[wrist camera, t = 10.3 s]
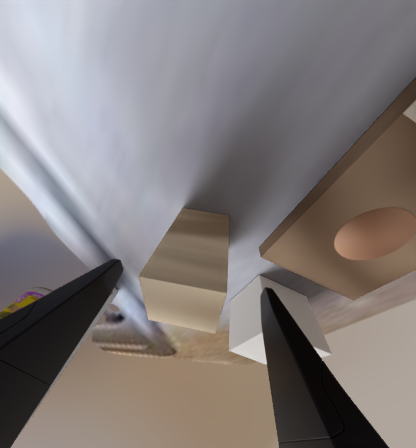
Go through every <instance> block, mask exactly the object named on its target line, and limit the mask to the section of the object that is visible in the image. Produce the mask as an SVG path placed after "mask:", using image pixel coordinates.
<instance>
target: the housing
mask: <svg viewBox="0 0 416 448" xmlns="http://www.w3.org/2000/svg"><path fill="white" fill-rule="evenodd" d="M265 287H268V288H272V289H273V290H274V291H275V293H276V294H277V296H278V297H279V299H280V300H281V301H282V303H283V304H284V306H285V307H286V309H287V310H288V311H289V313H290V314H291V316H292V317H293V319H294V320H295V321H296V323H297V324H298V326H299V327H300V329H301V330H302V331H303V333H304V334H305V336H306V337H307V339H308V340H309V341H310V343H311V344H312V346H313V347H314V349H315V350H316V351H317V353H318V354H319V356H320V357H321V358H322V357H325V356H329V355H332V353H331V351H330V348H329V346H328V344H327V342H326V339H325V337H324V335H323V333H322V330H321V328H320V326H319V324H318V321H317V319H316V317H315V315H314V312H313V310H312V308H311V306H310V303H309V301H308V299H307V297H306V296H305V295H302V294H300V293H298V292H296V291H294V290H292V289H289V288H287V287H285V286H283V285H281V284H278V283H276V282H274V281H272V280H270V279H268V278H265V277H263V276H261V275H258V276H257V277H256V278H255V279H254V280H253V281H252V282H251V283H249V284H248V285H247V286H246V287H245V288H244V289H243V290H242V291H241V292H240V293H238V294H237V295H236V296H235V297H234V298H233V299H232V300H231V301H230V334H229V351H231V352H234V353H237V354H239V355H242V356H245V357H247V358H250V359H253V360H255V361H258V362H261V363H264V364H266V365H267V361H266V354H265V347H264V340H263V334H262V326H261V305H260V296H261V293H262V291H263V289H264V288H265Z"/></svg>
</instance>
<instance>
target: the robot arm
mask: <svg viewBox="0 0 416 448" xmlns="http://www.w3.org/2000/svg"><path fill="white" fill-rule="evenodd" d="M122 272H123V266H122V263H121V260H119V259H112V260H110V261H108V262H106V263H104V264H102V265H100V266H99V267H97V268H95V269H93V270H91V271H89V272H88V273H86V274H84V275H82V276H80V277H78V278H77V279H75V280H73V281H71V282H69V283H67V284H65V285H64V286H62V287H60V288H58V289H56V290H54V291H52V292H51V293H49V294H47V295H45V296H43V297H41V298H39V299H38V300H36V301H34V302H32V303H30V304H28V305H26V306H25V307H23V308H21V309H19V310H17V311H15V312H13V313H11V314H9V315H7V316H5V317H3V318H1V319H0V448H10V447H11V446H12V444H13V443H14V441H15V440H16V438H17V437H18V435H19V434H20V432H21V431H22V429H23V428H24V426H25V425H26V423H27V421H28V420H29V418H30V417H31V415H32V414H33V412H34V411H35V409H36V408H37V406H38V405H39V403H40V402H41V400H42V399H43V397H44V396H45V394H46V393H47V391H48V389H49V388H50V386H51V385H52V383H53V382H54V380H55V379H56V377H57V376H58V374H59V372H60V371H61V369H62V368H63V366H64V365H65V363H66V362H67V360H68V359H69V357H70V356H71V354H72V353H73V351H74V350H75V348H76V347H77V345H78V343H79V342H80V340H81V339H82V337H83V336H84V334H85V333H86V331H87V330H88V328H89V327H90V325H91V324H92V322H93V321H94V319H95V318H96V316H97V314H98V313H99V311H100V310H101V308H102V307H103V305H104V304H105V302H106V301H107V299H108V298H109V296H110V294H111V293H112V291H113V289H114V287H115V285H116V283H117V281H118V279H119V278H120V276H121V274H122ZM260 305H261V326H262V334H263V340H264V347H265V354H266V361H267V367H268V374H269V381H270V388H271V395H272V402H273V408H274V415H275V422H276V429H277V436H278V442H279V448H389V447H388V446H387V444H386V443H385V442H384V440H383V439H382V438H381V437H380V435H379V434H378V433H377V432H376V430H375V429H374V428H373V427H372V425H371V424H370V423H369V421H368V420H367V419H366V418H365V417H364V415H363V414H362V413H361V411H360V410H359V409H358V407H357V406H356V405H355V404H354V402H353V401H352V400H351V398H350V397H349V396H348V394H347V393H346V392H345V391H344V389H343V388H342V387H341V385H340V384H339V382H338V381H337V380H336V378H335V377H334V375H333V374H332V373H331V371H330V370H329V369H328V367H327V366H326V364H325V363H324V361H322V359H321V357H320V356H319V354H318V353H317V351H316V350H315V349H314V347H313V346H312V344H311V343H310V341H309V340H308V339H307V337H306V336H305V334H304V333H303V331H302V330H301V329H300V327H299V326H298V324H297V323H296V321H295V320H294V319H293V317H292V316H291V314H290V313H289V311H288V310H287V309H286V307H285V306H284V304H283V303H282V301H281V300H280V299H279V297H278V296H277V294H276V293H275V291H274V290H273V289H272V288H268V287H265V288H264V289H263V291H262V293H261V296H260Z"/></svg>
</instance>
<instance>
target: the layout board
mask: <svg viewBox="0 0 416 448" xmlns="http://www.w3.org/2000/svg"><path fill="white" fill-rule="evenodd" d="M259 251H260V255H261V257H262V258H264V259H266V260H268V261H270V262H273V263H275V264H277V265H279V266H281V267H283V268H285V269H288V270H290V271H292V272H294V273H296V274H298V275H301V276H303V277H305V278H307V279H309V280H311V281H313V282H316V283H318V284H320V285H322V286H324V287H326V288H328V289H331V290H333V291H335V292H337V293H339V294H341V295H343V296H346V297H348V298H350V299H352V300H355V299H357V298H359V297H361V296H363V295H365V294H367V293H369V292H371V291H373V290H375V289H377V288H379V287H382V286H384V285H386V284H388V283H390V282H392V281H394V280H396V279H398V278H400V277H402V276H404V275H406V274H408V273H410V272H412V271H414V270H416V78H415V79H414V80H413V81H412V82H411V83H410V84H409V86H408V87H407V88H406V89H405V90H404V91H403V92H402V93H401V94H400V95H399V96H398V97H397V99H396V100H395V101H394V102H393V103H392V104H391V105H390V106H389V107H388V108H387V109H386V110H385V112H384V113H383V114H382V115H381V116H380V117H379V118H378V119H377V120H376V121H375V122H374V123H373V125H372V126H371V127H370V128H369V129H368V130H367V131H366V132H365V133H364V134H363V135H362V136H361V138H360V139H359V140H358V141H357V142H356V143H355V144H354V145H353V146H352V147H351V148H350V149H349V151H348V152H347V153H346V154H345V155H344V156H343V157H342V158H341V159H340V160H339V161H338V162H337V164H336V165H335V166H334V167H333V168H332V169H331V170H330V171H329V172H328V173H327V174H326V175H325V177H324V178H323V179H322V180H321V181H320V182H319V183H318V184H317V185H316V186H315V187H314V188H313V190H312V191H311V192H310V193H309V194H308V195H307V196H306V197H305V198H304V199H303V200H302V201H301V203H300V204H299V205H298V206H297V207H296V208H295V209H294V210H293V211H292V212H291V213H290V214H289V216H288V217H287V218H286V219H285V220H284V221H283V222H282V223H281V224H280V225H279V226H278V227H277V229H276V230H275V231H274V232H273V233H272V234H271V235H270V236H269V237H268V238H267V239H266V240H265V242H264V243H263V244H262V245H261V246H260V247H259Z"/></svg>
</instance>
